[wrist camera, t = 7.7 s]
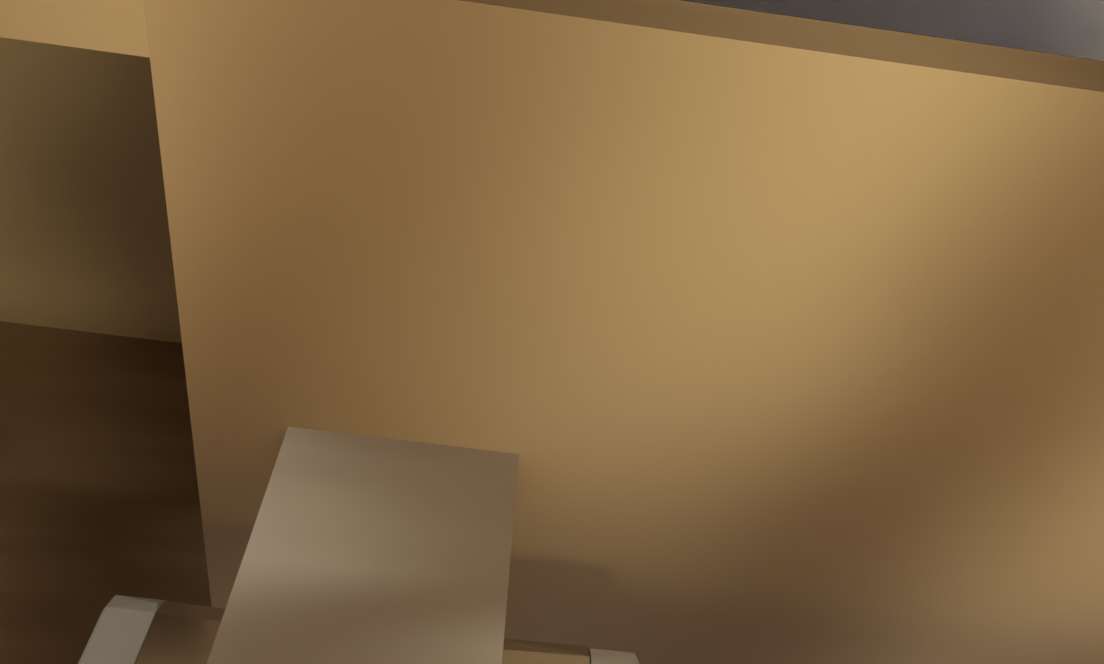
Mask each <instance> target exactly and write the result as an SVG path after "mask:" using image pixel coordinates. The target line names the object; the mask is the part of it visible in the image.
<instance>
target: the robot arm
mask: <svg viewBox="0 0 1104 664" xmlns="http://www.w3.org/2000/svg"><path fill="white" fill-rule="evenodd" d="M225 609H226V608H219V607H211V606H203V605H194V604H186V603H178V602H170V601H166V600H158V599H149V598H140V597H131V596H121V595H115V596H114V597H113V598H112V600H111V601H110V602H109V603H108V604H107V606H106V607H105V608H104V609H103V611H102V613H101V615H100V617H99V619H98V622H97V624H96V626H95V628H94V630H93V632H92V634H91V637H90V639H89V641H88V643H87V645H86V647H85V649H84V652H83V654H82V656H81V658H80V660H79V662H78V664H207V661H208V658H209V655H210V653H211V650H212V647H213V644H214V641H215V638H216V635H217V632H218V629H219V626H220V623H221V620H222V618H223V615H224V612H225ZM502 664H639V662H638V659H637V657H636V655H635V653H634V652H627V651H616V650H605V649H594V648H587V646H580V645H569V644H559V643H548V642H538V641H527V640H516V639H506V638H504V644H503V656H502Z"/></svg>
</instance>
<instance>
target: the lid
mask: <svg viewBox="0 0 1104 664" xmlns="http://www.w3.org/2000/svg"><path fill="white" fill-rule="evenodd" d="M143 2H144V11H145V20H146V29H147V38H148V46H149V55H150V64H151V73H152V82H153V91H154V100H155V108H156V117H157V126H158V135H159V144H160V153H161V162H162V171H163V179H164V188H165V197H166V206H167V215H168V224H169V233H170V241H171V250H172V259H173V268H174V277H175V286H176V295H177V304H178V312H179V321H180V330H181V339H182V348H183V357H184V366H185V374H186V383H187V392H188V401H189V410H190V419H191V428H192V437H193V445H194V454H195V463H196V472H197V481H198V490H199V499H200V507H201V516H202V525H203V534H204V543H205V552H206V561H207V570H208V578H209V587H210V596H211V605H212V607H219V608H226V609H225V612H224V615H223V618H222V620H221V623H220V626H219V629H218V632H217V635H216V638H215V641H214V644H213V647H212V650H211V653H210V655H209V658H208V661H207V664H502V656H503V644H504V638H506V639H516V640H527V641H538V642H548V643H559V644H569V645H580V646H587V648H594V649H605V650H616V651H627V652H634V653H635V655H636V657H637V659H638V662H639V664H1104V61H1098V60H1091V59H1084V58H1077V57H1070V56H1063V55H1056V54H1049V53H1042V52H1035V51H1028V50H1021V49H1014V48H1007V47H1000V46H993V45H987V44H980V43H973V42H966V41H959V40H952V39H945V38H938V37H931V36H924V35H917V34H910V33H903V32H896V31H889V30H882V29H876V28H869V27H862V26H855V25H848V24H841V23H834V22H827V21H820V20H813V19H806V18H799V17H792V16H785V15H778V14H772V13H765V12H758V11H751V10H744V9H737V8H730V7H723V6H716V5H709V4H702V3H695V2H688V1H681V0H143Z"/></svg>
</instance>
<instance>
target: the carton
mask: <svg viewBox="0 0 1104 664" xmlns="http://www.w3.org/2000/svg"><path fill="white" fill-rule="evenodd" d="M115 595H121V596H131V597H140V598H149V599H158V600H166V601H170V602H178V603H186V604H194V605H203V606H211V607H212V605H211V596H210V587H209V578H208V570H207V561H206V552H205V543H204V534H203V525H202V516H201V507H200V499H199V490H198V481H197V472H196V463H195V454H194V445H193V437H192V428H191V419H190V410H189V401H188V392H187V383H186V374H185V366H184V357H183V348H182V339H181V330H180V321H179V312H178V304H177V295H176V286H175V277H174V268H173V259H172V250H171V241H170V233H169V224H168V215H167V206H166V197H165V188H164V179H163V171H162V162H161V153H160V144H159V135H158V126H157V117H156V108H155V100H154V91H153V82H152V73H151V64H150V55H149V46H148V38H147V29H146V20H145V11H144V2H143V0H0V664H78V662H79V660H80V658H81V656H82V654H83V652H84V649H85V647H86V645H87V643H88V641H89V639H90V637H91V634H92V632H93V630H94V628H95V626H96V624H97V622H98V619H99V617H100V615H101V613H102V611H103V609H104V608H105V607H106V606H107V604H108V603H109V602H110V601H111V600H112V598H113V597H114V596H115Z"/></svg>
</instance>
